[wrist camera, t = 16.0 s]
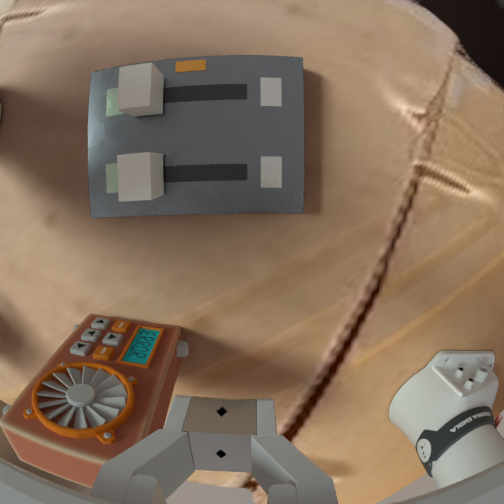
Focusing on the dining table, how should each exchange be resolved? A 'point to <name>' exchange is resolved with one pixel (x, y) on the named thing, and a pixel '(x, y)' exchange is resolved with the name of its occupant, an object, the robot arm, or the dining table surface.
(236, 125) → the breaker box
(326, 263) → the dining table surface
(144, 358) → the control panel
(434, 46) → the dining table surface
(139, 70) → the block
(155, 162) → the block
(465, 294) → the dining table surface
